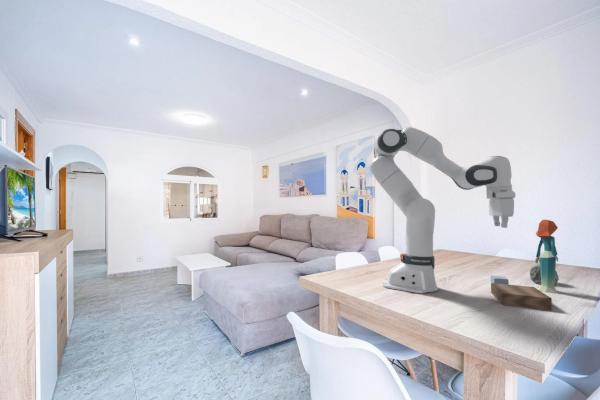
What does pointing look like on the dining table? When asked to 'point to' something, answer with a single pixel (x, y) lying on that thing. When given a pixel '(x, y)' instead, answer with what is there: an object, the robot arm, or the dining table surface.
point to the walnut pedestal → (521, 296)
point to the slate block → (499, 280)
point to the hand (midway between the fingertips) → (500, 226)
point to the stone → (539, 275)
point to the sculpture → (547, 255)
